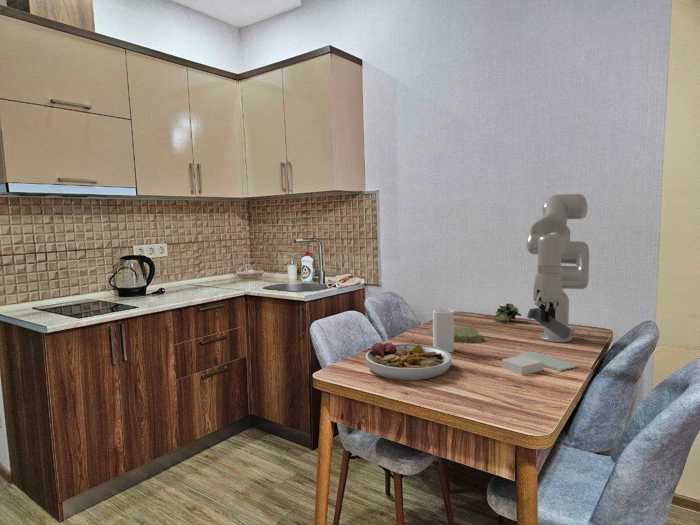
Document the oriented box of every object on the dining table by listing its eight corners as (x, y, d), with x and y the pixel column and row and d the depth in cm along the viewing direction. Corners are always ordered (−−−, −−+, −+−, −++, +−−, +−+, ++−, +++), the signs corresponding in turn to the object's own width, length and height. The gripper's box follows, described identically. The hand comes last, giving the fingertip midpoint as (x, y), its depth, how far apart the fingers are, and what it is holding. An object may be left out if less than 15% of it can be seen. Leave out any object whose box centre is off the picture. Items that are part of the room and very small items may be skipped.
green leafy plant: (509, 330, 235) (523, 312, 233) (508, 331, 224) (524, 312, 223) (490, 317, 238) (504, 298, 237) (489, 317, 228) (504, 298, 227)
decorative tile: (429, 333, 213) (429, 325, 213) (472, 332, 213) (472, 325, 212) (435, 344, 195) (435, 335, 194) (483, 343, 194) (483, 335, 194)
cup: (455, 348, 186) (455, 309, 184) (451, 353, 178) (451, 313, 177) (435, 346, 189) (435, 308, 188) (430, 351, 182) (430, 312, 180)
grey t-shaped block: (571, 337, 160) (574, 328, 158) (559, 339, 157) (562, 331, 156) (538, 315, 172) (541, 307, 171) (527, 317, 170) (529, 309, 168)
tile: (522, 355, 165) (501, 359, 160) (543, 362, 157) (521, 366, 152) (522, 364, 165) (501, 368, 161) (543, 371, 157) (521, 376, 153)
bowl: (461, 362, 168) (461, 341, 167) (434, 389, 142) (434, 365, 141) (387, 352, 183) (387, 333, 182) (350, 375, 157) (350, 352, 156)
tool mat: (532, 352, 178) (532, 351, 177) (578, 367, 160) (578, 365, 160) (515, 356, 174) (515, 354, 174) (560, 371, 156) (560, 369, 156)
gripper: (556, 268, 170) (554, 316, 172) (524, 270, 163) (523, 321, 165) (573, 269, 163) (572, 320, 165) (541, 272, 156) (540, 325, 158)
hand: (547, 320), depth 165 cm, fingers closed on grey t-shaped block, 2 cm apart
